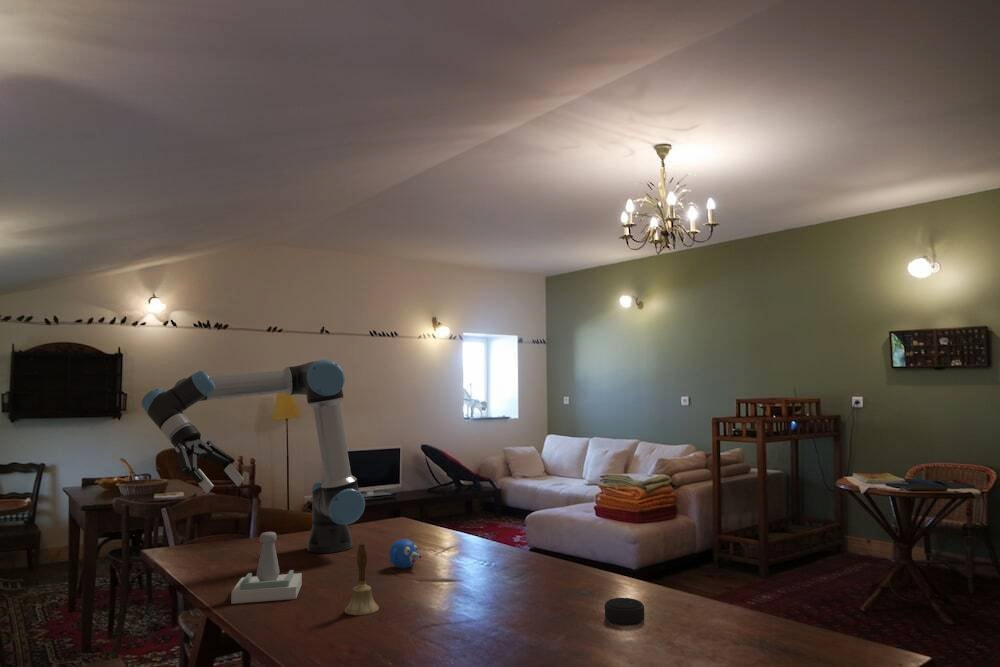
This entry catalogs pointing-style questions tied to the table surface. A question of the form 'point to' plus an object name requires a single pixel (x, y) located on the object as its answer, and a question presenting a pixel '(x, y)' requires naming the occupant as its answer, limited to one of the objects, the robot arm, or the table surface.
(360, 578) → the hand bell
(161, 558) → the table surface
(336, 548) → the robot arm
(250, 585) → the dock
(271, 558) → the salt shaker
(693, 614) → the table surface
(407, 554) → the blue rounded piece
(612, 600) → the smart speaker
